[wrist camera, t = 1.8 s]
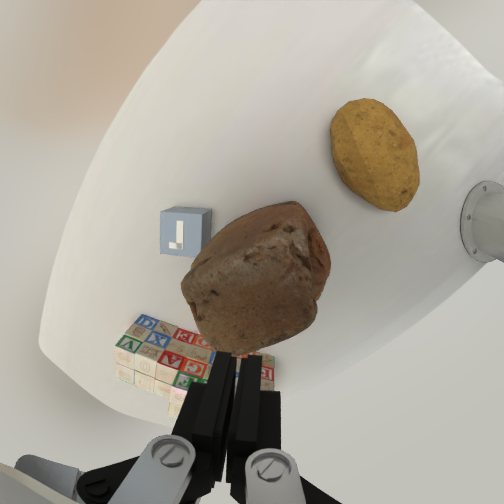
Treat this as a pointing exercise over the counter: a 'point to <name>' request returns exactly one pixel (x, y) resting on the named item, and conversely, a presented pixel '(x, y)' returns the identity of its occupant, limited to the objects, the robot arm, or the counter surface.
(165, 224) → the alphabet block
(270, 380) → the stack of blocks
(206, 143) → the counter surface
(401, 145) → the potato
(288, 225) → the brown rock
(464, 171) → the counter surface
